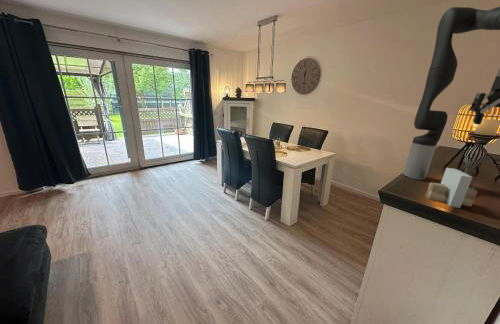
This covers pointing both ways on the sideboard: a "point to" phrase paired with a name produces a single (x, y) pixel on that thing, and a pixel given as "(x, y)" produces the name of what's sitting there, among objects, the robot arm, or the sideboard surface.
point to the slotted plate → (456, 186)
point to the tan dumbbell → (440, 194)
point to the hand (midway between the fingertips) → (492, 125)
